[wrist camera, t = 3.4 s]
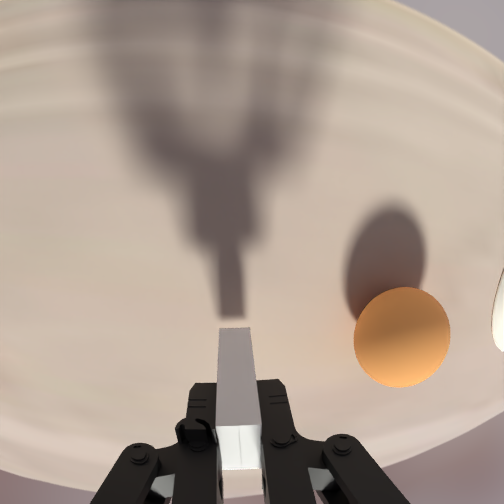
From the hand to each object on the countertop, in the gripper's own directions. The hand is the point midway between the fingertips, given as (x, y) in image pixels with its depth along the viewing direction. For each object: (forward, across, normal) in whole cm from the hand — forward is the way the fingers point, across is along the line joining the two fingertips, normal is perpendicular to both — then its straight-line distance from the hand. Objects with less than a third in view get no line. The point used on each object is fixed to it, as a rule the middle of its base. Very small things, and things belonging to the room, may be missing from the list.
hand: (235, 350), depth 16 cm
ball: (-1, +9, 0) cm, 9 cm away
